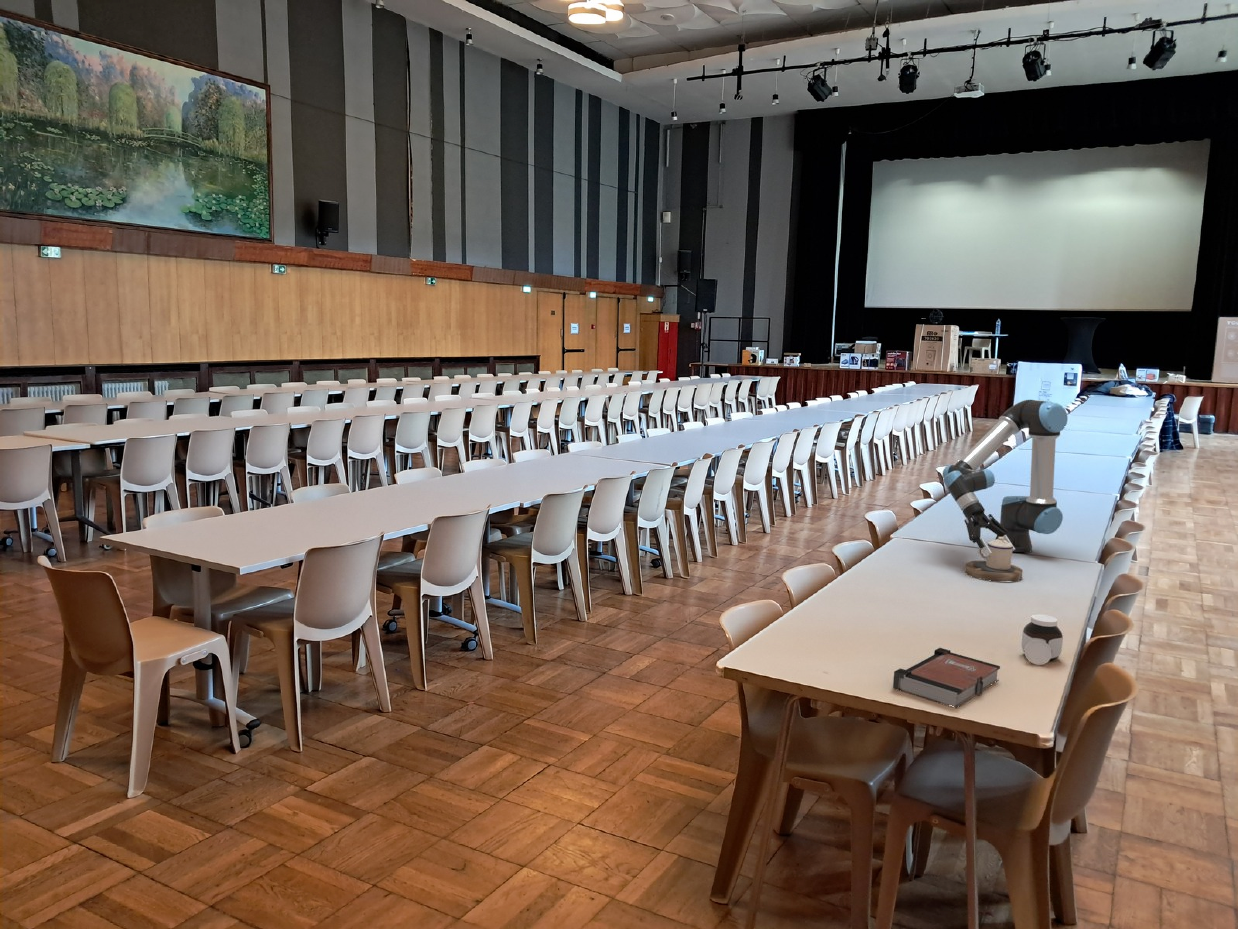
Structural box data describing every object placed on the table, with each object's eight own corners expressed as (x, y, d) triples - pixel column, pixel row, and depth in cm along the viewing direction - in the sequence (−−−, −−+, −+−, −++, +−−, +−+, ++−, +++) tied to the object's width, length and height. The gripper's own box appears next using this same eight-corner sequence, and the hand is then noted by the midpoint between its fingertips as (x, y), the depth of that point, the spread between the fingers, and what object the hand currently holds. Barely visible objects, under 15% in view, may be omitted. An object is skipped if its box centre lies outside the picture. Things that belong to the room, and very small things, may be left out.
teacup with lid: (1013, 566, 344) (1016, 537, 342) (1008, 571, 337) (1011, 541, 335) (980, 561, 351) (983, 531, 349) (974, 566, 344) (977, 536, 342)
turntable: (988, 565, 358) (988, 557, 357) (1033, 578, 341) (1034, 569, 340) (954, 571, 348) (954, 563, 347) (998, 585, 331) (999, 576, 330)
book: (958, 711, 221) (960, 692, 220) (892, 690, 233) (894, 671, 232) (1001, 683, 239) (1003, 665, 238) (938, 664, 251) (939, 647, 250)
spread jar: (1050, 652, 262) (1054, 614, 260) (1071, 667, 251) (1075, 627, 249) (1010, 652, 261) (1013, 613, 259) (1029, 667, 250) (1033, 626, 248)
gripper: (985, 509, 360) (1015, 554, 350) (942, 514, 348) (972, 561, 337) (998, 498, 355) (1028, 544, 345) (955, 503, 343) (985, 551, 332)
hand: (1000, 553), depth 341 cm, fingers open, 13 cm apart
